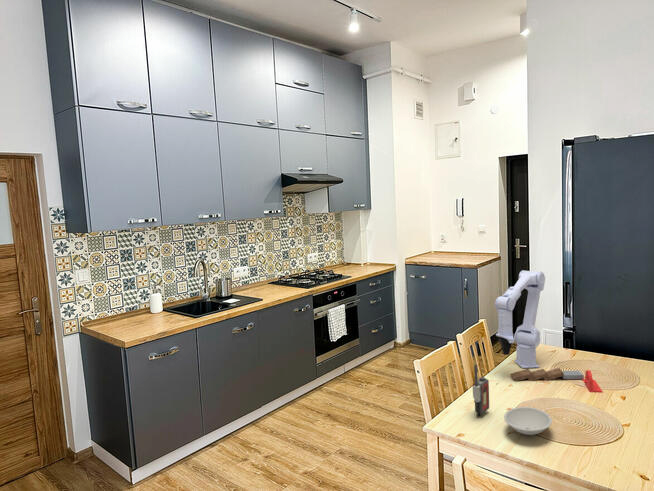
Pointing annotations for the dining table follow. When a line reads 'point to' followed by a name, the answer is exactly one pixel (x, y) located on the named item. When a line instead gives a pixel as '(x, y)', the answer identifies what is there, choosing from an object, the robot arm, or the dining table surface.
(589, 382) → the bracket
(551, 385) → the dining table surface
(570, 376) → the gap domino
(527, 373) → the brown wooden block
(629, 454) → the dining table surface
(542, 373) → the domino
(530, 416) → the dish
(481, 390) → the walkie-talkie
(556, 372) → the domino
